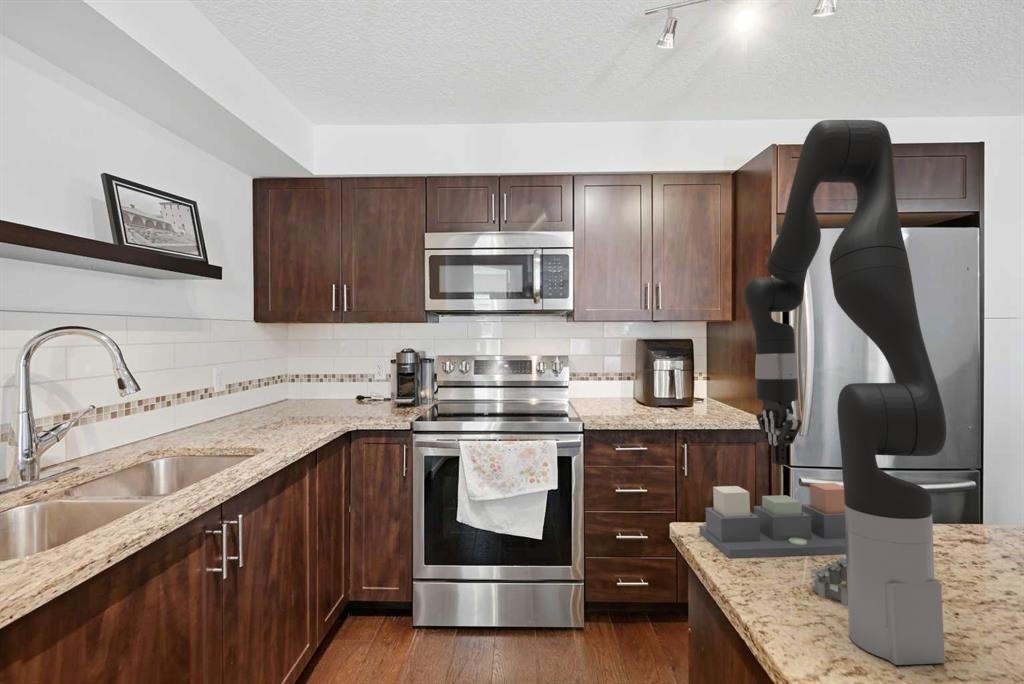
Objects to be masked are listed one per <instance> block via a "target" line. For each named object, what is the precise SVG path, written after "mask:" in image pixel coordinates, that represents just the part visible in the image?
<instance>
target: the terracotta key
mask: <svg viewBox="0 0 1024 684" xmlns="http://www.w3.org/2000/svg"><path fill="white" fill-rule="evenodd" d="M809 491H810V493H809V496H810V504H811V507H812V508H814V509H816V510H818V511H820V512H822V513H824V514H839V513H845V503H844V485H840V484H838V483H835V482H826V483H825V482H822V483H821V482H820V483H809Z"/></svg>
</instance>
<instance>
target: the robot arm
mask: <svg viewBox="0 0 1024 684" xmlns="http://www.w3.org/2000/svg"><path fill="white" fill-rule="evenodd" d="M894 170H895V169H894V154H893V145H892V140H891V135H890V132H889V129H888V127H887V125H885V124H884V123H883V122H881V121H878V120H875V119H874V120H873V119H825V120H820V121H818V122H817V123H815V124H814V125H813V126H812V128H810V130H809V131H808V133H807V136H806V137H805V140H804V142H803V145H802V147H801V150H800V153H799V157H798V161H797V164H796V168H795V172H794V175H793V176H794V177H793V180H792V185H791V187H790V193H789V197H788V200H787V205H786V210H785V213H784V217H783V221H782V224H781V228H780V230H779V232H778V236H777V238H776V240H775V243H774V244H773V248H772V249H771V252H770V253H769V256H768V260H767V262H766V263H767V264H766V269H767V272H768V273H769V274H770V275H771V276H759V277H754V278H753V277H752V278H751V279H750V280H749V281H748V283H746V286H745V289H744V293H743V294H744V301H745V305H746V308H747V311H748V313H749V316H750V320H751V322H752V326H753V330H754V335H755V336H754V337H755V353H756V354H755V364H754V365H755V366H754V370H755V371H754V372H755V373H754V375H755V398H756V400H758V401H761V402H762V407H761V409H762V413H759V414H758V413H757V414H756V420H757V423H758V425H759V428H760V430H761V433H762V436H763V438H764V440H765V441H768V443H769V445H770V446H771V462H772V464H774V465H777V466H785V465H786V464H787V447H788V445H790V444H794V442H795V440H796V438H797V436H798V435H797V434H798V433H799V431H800V428H801V426H802V423H803V422H802V420H801V419H796V418H795V416H794V408H793V402H796V401H798V400H799V388H798V387H799V385H798V383H799V380H798V378H799V377H798V364H797V362H798V361H797V359H796V358H797V356H796V339H795V335H796V334H795V329H794V327H793V326H792V325H790V324H787V323H782V322H778V321H775V320H774V319H773V318H772V316H771V314H770V313H785V312H786V313H787V312H792V311H795V310H796V309H797V308H799V306H801V305H802V302H803V301H804V295H805V293H804V292H805V283H806V278H807V273H808V272H807V271H808V270H809V267H810V265H811V263H812V262H813V260H814V258H815V256H816V254H817V252H818V250H819V248H820V245H821V239H822V232H821V226H820V222H819V220H818V219H819V218H818V215H817V213H816V209H815V205H814V197H815V193H816V190H817V188H818V186H819V185H820V183H840V184H841V183H845V184H846V183H847V184H849V183H850V184H852V185H854V187H855V190H856V196H857V197H856V198H857V203H856V207H855V210H854V212H853V214H852V216H851V217H850V219H849V221H848V223H847V224H846V225H845V227H844V228H843V230H842V231H841V232H840V234H839V236H838V237H837V239H836V241H835V242H834V244H833V246H832V248H831V251H830V255H829V267H830V274H831V281H832V283H831V284H832V289H833V296H834V299H835V301H836V302H837V304H838V306H839V307H840V309H841V310H842V311H843V312H844V314H845V315H846V316H847V317H848V318H849V319H850V320H851V321H852V322H853V323H854V325H856V326H857V327H858V329H860V330H861V331H862V332H863V333H864V334H865V335H866V336H867V337H868V338H869V339H871V341H872V342H873V343H874V345H876V347H878V349H879V351H880V352H881V354H882V355H883V356H884V358H885V360H886V361H887V363H888V365H889V368H890V370H891V372H892V376H893V379H894V381H895V382H867V383H866V382H857V383H848V384H846V385H844V386H843V388H842V389H841V390H840V392H839V395H838V399H837V400H838V401H837V412H836V413H837V424H838V425H837V426H838V433H839V443H840V454H841V456H840V457H841V471H842V475H841V476H842V484H843V485H842V486H843V487H844V503H845V535H846V554H845V555H846V556H845V557H846V563H847V591H848V606H847V608H848V613H847V614H848V633H849V634H848V635H849V638H850V640H852V642H853V643H854V644H855V645H856V646H858V647H859V648H860V649H862V650H864V651H865V652H868V653H870V654H872V655H874V656H877V657H880V658H882V659H885V660H887V661H889V662H891V663H892V664H893V665H896V666H904V665H905V666H906V665H907V666H908V665H926V664H930V665H932V664H945V662H946V661H945V640H944V617H943V613H944V611H943V592H942V591H943V590H942V584H941V582H940V581H938V580H936V579H935V577H936V576H935V575H936V574H935V558H934V556H935V554H934V553H935V552H934V529H933V525H934V523H933V500H932V495H931V493H930V492H929V491H928V490H927V489H926V488H925V487H923V486H921V485H919V484H916V483H913V482H911V481H909V480H908V481H907V480H905V479H901V478H898V477H895V476H892V475H891V474H889V473H887V472H886V471H883V470H882V469H881V468H879V466H878V462H877V456H895V457H896V456H897V457H901V456H902V457H930V456H931V457H932V456H935V455H938V454H939V453H940V452H941V451H942V450H943V448H944V447H945V444H946V439H947V423H946V420H947V419H946V414H945V410H944V409H945V408H944V406H943V400H942V398H941V394H940V393H941V392H940V390H939V386H938V383H937V379H936V377H935V374H934V370H933V367H932V365H931V361H930V358H929V355H928V352H927V347H926V343H925V341H924V338H923V332H922V330H921V325H920V319H919V314H918V309H917V302H916V298H915V291H914V285H913V284H914V283H913V278H912V277H913V276H912V273H911V265H910V262H909V257H908V253H907V248H906V244H905V240H904V236H903V232H902V226H901V220H900V217H899V210H898V205H897V204H898V202H897V196H896V185H895V183H896V182H895V172H894Z"/></svg>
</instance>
